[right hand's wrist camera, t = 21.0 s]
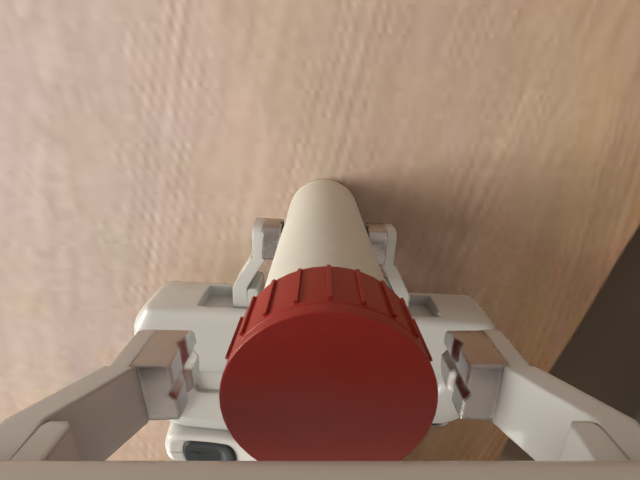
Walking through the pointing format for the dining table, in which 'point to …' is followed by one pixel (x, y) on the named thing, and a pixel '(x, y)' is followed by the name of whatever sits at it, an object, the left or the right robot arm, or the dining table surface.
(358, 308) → the lid
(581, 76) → the dining table surface
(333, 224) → the bottle
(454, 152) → the dining table surface
